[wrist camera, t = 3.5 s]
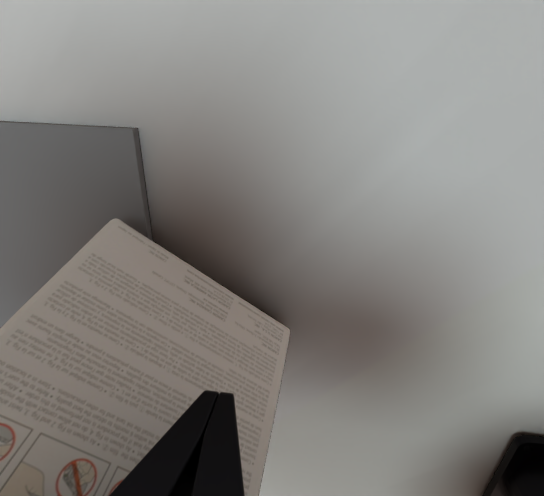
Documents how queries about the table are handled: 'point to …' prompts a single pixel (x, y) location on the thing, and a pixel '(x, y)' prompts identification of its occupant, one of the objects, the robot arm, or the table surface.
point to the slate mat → (61, 198)
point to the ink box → (127, 367)
